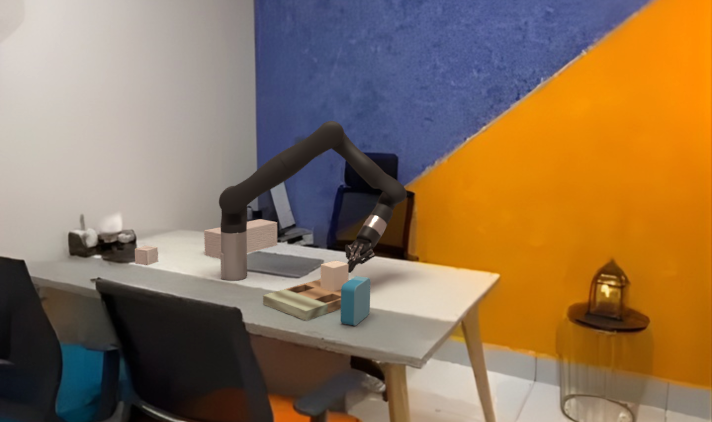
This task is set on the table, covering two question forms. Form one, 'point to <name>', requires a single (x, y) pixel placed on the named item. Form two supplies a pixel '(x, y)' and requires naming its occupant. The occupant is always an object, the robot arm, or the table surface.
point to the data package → (355, 300)
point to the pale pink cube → (146, 255)
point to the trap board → (304, 300)
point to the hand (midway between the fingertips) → (347, 271)
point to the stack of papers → (257, 237)
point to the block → (333, 275)
